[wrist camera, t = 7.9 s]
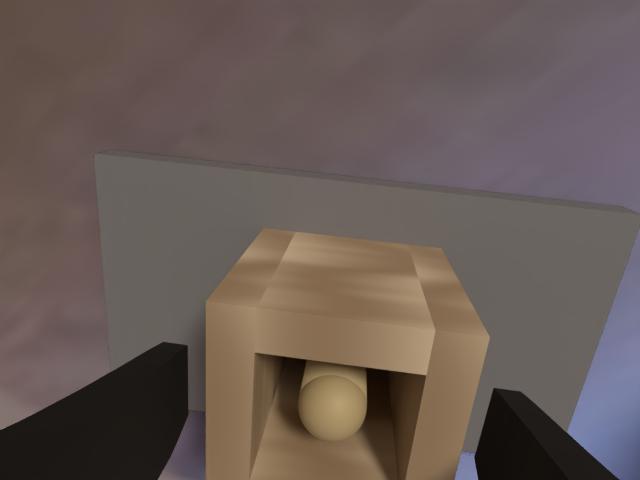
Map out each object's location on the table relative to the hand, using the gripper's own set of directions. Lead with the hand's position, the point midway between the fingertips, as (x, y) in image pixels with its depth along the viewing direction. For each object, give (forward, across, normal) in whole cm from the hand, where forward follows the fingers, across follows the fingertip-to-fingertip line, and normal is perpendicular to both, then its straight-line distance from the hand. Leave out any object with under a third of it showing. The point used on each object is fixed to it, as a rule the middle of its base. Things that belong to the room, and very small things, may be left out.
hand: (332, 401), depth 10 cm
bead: (+4, 0, 0) cm, 4 cm away
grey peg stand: (+5, 0, 0) cm, 5 cm away
